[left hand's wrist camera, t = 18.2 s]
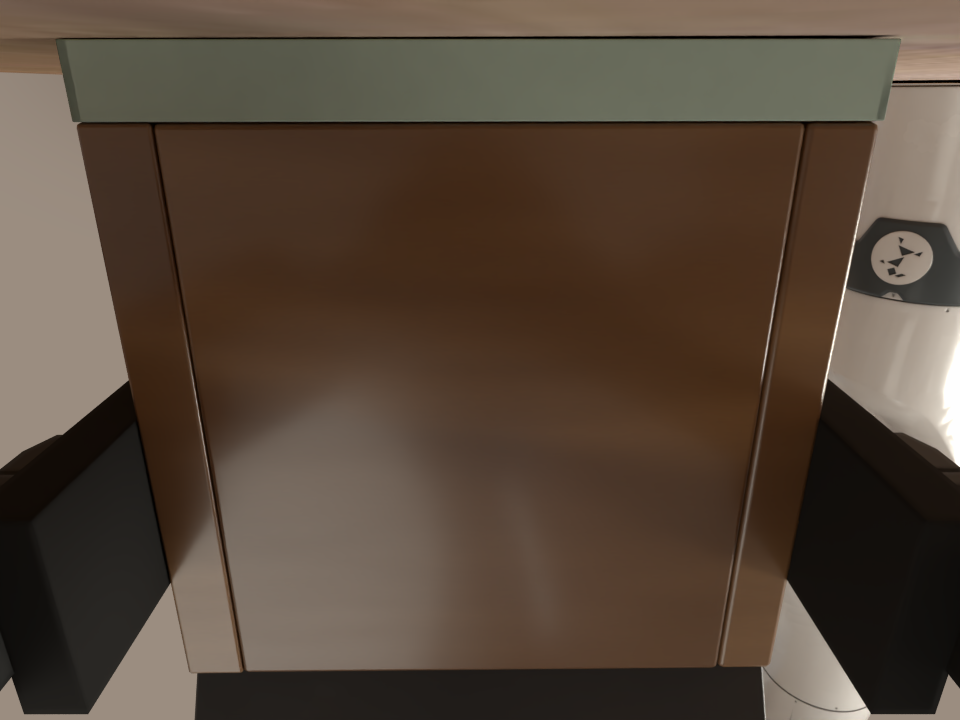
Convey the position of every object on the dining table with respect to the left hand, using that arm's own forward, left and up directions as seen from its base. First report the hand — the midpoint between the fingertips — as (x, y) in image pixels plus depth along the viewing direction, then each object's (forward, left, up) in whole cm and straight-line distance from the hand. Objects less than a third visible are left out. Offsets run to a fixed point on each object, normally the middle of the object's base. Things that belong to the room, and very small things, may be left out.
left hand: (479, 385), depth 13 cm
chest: (+3, 0, -6) cm, 7 cm away
